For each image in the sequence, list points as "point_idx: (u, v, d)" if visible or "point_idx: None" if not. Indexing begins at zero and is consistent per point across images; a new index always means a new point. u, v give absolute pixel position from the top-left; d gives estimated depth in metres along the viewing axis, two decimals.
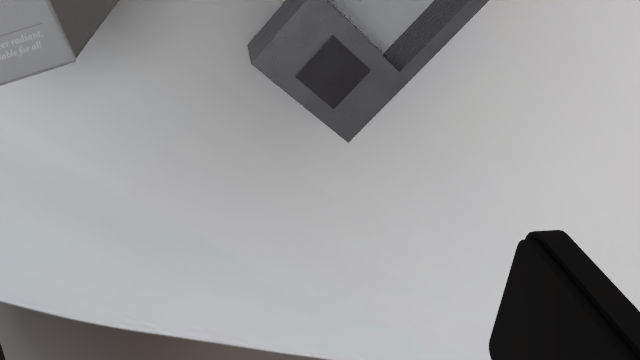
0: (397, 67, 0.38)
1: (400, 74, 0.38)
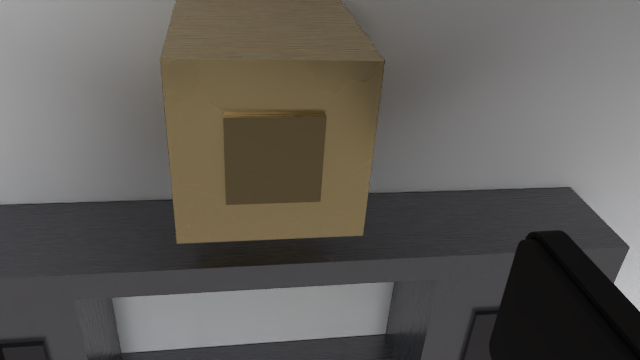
0: None
1: None
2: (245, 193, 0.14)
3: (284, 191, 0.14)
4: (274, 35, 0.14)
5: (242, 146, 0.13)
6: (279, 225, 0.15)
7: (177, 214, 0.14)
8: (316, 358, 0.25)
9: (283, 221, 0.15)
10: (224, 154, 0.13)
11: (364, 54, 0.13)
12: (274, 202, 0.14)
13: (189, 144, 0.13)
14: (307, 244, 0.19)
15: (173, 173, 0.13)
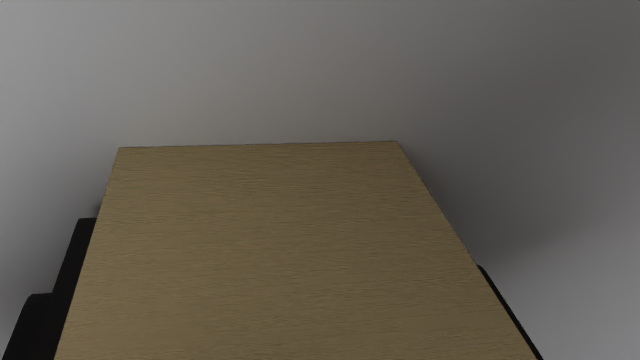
0: None
1: None
2: None
3: None
4: (303, 303, 0.07)
5: None
6: None
7: None
8: None
9: None
10: None
11: None
12: None
13: None
14: None
15: None
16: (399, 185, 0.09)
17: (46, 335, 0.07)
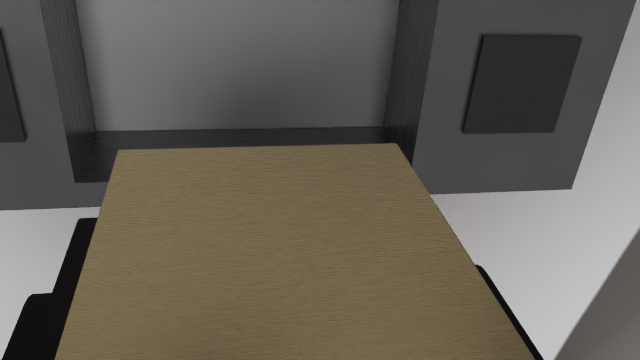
0: (82, 172, 0.20)
1: (73, 188, 0.19)
2: None
3: None
4: (303, 307, 0.06)
5: None
6: None
7: None
8: (308, 139, 0.23)
9: None
10: None
11: None
12: None
13: None
14: None
15: None
16: (399, 187, 0.09)
17: (46, 335, 0.07)
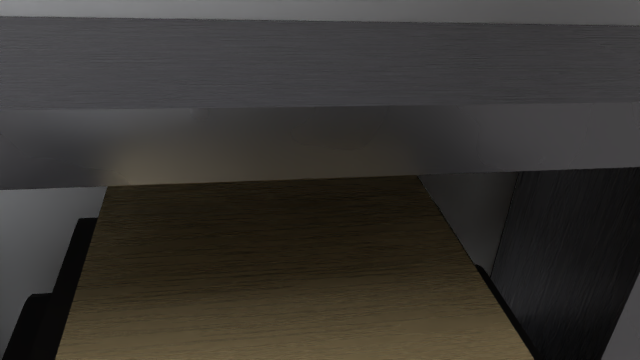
0: None
1: None
2: None
3: None
4: (303, 306, 0.07)
5: None
6: None
7: None
8: None
9: None
10: None
11: None
12: None
13: None
14: (379, 78, 0.08)
15: None
16: (399, 187, 0.09)
17: (46, 335, 0.07)
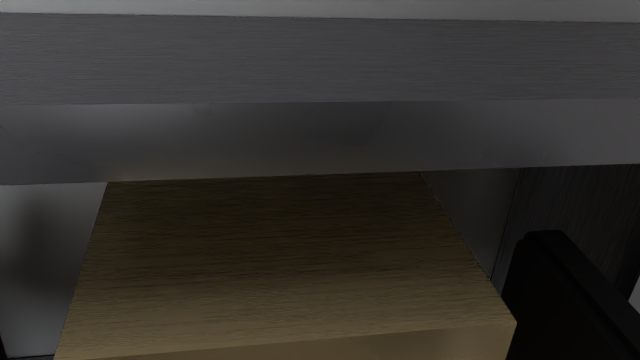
0: None
1: None
2: None
3: None
4: (291, 239, 0.08)
5: None
6: None
7: None
8: None
9: None
10: None
11: (470, 298, 0.07)
12: None
13: None
14: (382, 74, 0.08)
15: None
16: None
17: None
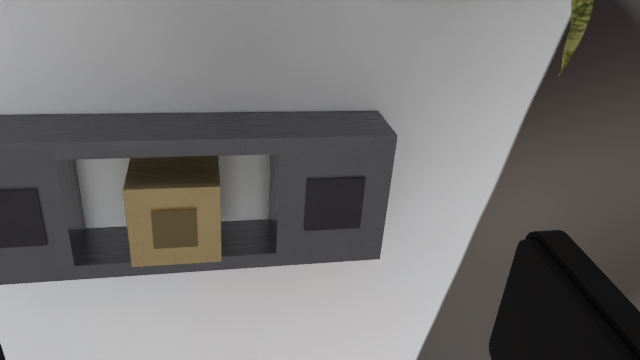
0: (78, 258, 0.33)
1: (73, 268, 0.33)
2: (162, 243, 0.31)
3: (180, 242, 0.31)
4: (175, 172, 0.31)
5: (159, 223, 0.30)
6: (180, 257, 0.32)
7: (131, 253, 0.31)
8: None
9: (182, 256, 0.32)
10: (152, 227, 0.30)
11: (212, 183, 0.30)
12: (176, 247, 0.31)
13: (136, 223, 0.30)
14: (198, 132, 0.31)
15: (129, 235, 0.30)
16: None
17: None
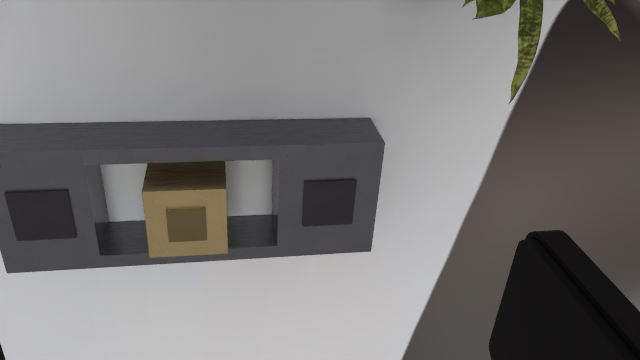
0: (103, 249, 0.38)
1: (99, 258, 0.38)
2: (176, 237, 0.35)
3: (191, 236, 0.35)
4: (187, 175, 0.35)
5: (173, 220, 0.35)
6: (191, 249, 0.36)
7: (149, 246, 0.35)
8: None
9: (193, 248, 0.36)
10: (167, 223, 0.35)
11: (219, 185, 0.35)
12: (188, 241, 0.36)
13: (153, 220, 0.35)
14: (207, 140, 0.36)
15: (147, 230, 0.35)
16: None
17: None
